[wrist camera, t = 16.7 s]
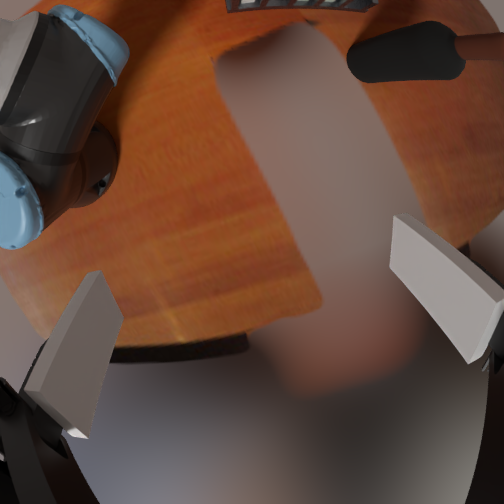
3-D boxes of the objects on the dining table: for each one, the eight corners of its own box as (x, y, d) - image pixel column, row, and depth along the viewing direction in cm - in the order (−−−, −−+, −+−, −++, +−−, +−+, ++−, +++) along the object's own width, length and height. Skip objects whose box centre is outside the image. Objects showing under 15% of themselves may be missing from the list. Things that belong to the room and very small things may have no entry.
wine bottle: (343, 40, 35) (480, -5, 8) (382, 45, 35) (523, 25, 9) (348, 81, 38) (496, 76, 12) (387, 84, 39) (534, 94, 12)
